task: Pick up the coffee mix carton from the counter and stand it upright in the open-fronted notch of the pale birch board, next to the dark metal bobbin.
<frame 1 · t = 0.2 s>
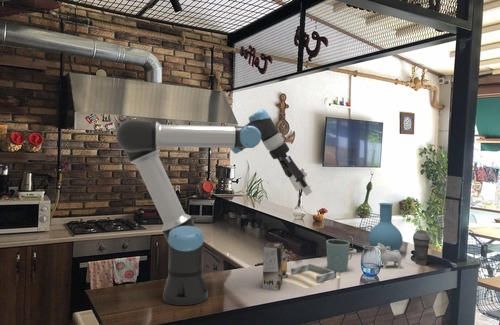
hand: (304, 191, 155), 35 cm above the counter, tool tilted 35°, fingers open, 13 cm apart
green mug: (337, 269, 169), on the counter
coffee box: (272, 288, 144), on the counter
notched board: (307, 279, 155), on the counter
vase: (385, 252, 200), on the counter
white animal figurine: (387, 267, 173), on the counter
beverage cup: (420, 264, 179), on the counter
bobbin: (281, 276, 154), resting on notched board
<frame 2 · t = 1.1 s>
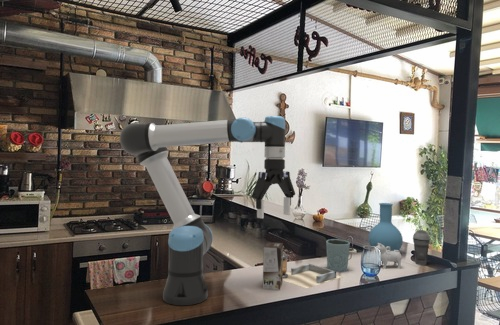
hand: (273, 216, 143), 27 cm above the counter, tool pointing down, fingers open, 13 cm apart
nothing on the counter moved.
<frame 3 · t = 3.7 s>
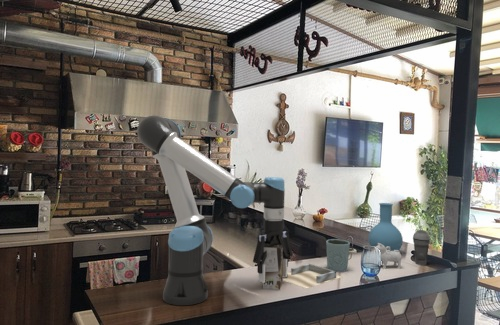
hand: (273, 278, 144), 3 cm above the counter, tool pointing down, fingers closed on coffee box, 11 cm apart
coffee box: (273, 288, 144), on the counter, touching gripper
everything else where it was.
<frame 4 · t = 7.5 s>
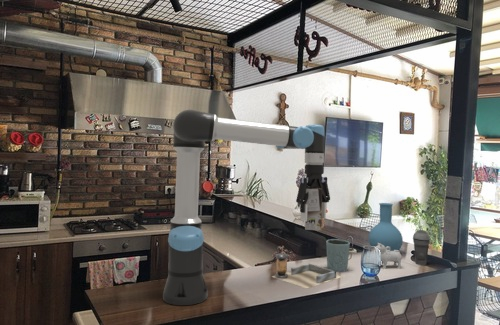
hand: (313, 219, 155), 24 cm above the counter, tool pointing down, fingers closed on coffee box, 11 cm apart
coffee box: (313, 228, 155), point 20 cm above the counter, touching gripper
everything else where it was.
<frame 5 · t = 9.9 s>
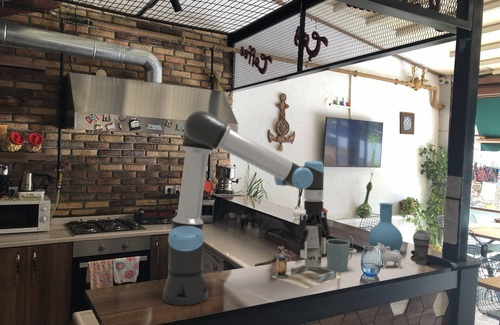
hand: (313, 255, 155), 9 cm above the counter, tool pointing down, fingers closed on coffee box, 11 cm apart
coffee box: (313, 264, 155), point 6 cm above the counter, touching gripper
everything else where it was.
when the fingers open (6 cm above the counter, at t = 11.4 s): coffee box stays where it is, resting on notched board.
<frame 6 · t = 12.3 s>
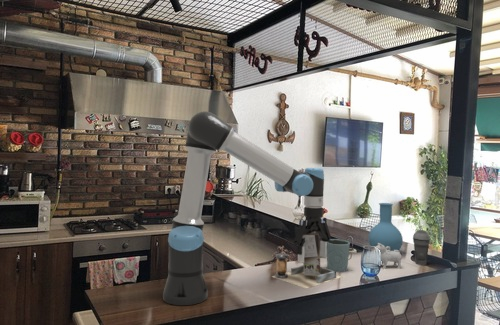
hand: (312, 260, 155), 8 cm above the counter, tool pointing down, fingers open, 13 cm apart
coffee box: (312, 271, 155), point 3 cm above the counter, touching gripper, notched board
everything else where it was.
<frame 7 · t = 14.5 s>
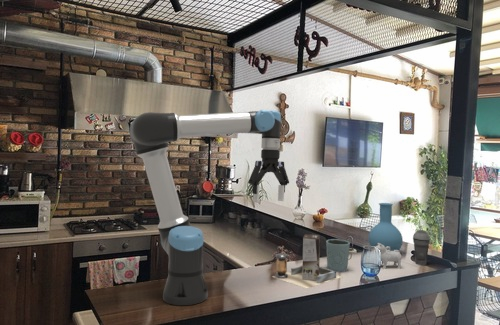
hand: (268, 201, 158), 30 cm above the counter, tool pointing down, fingers open, 13 cm apart
coffee box: (310, 277, 154), point 1 cm above the counter, touching notched board
everything else where it was.
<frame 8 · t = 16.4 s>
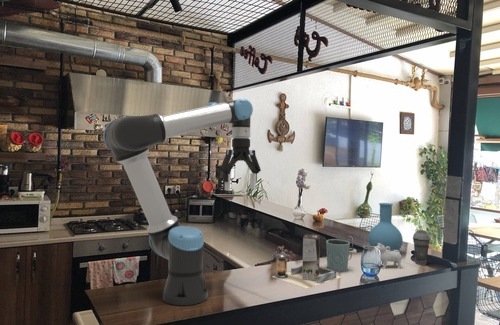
hand: (240, 189, 161), 35 cm above the counter, tool pointing down, fingers open, 13 cm apart
nothing on the counter moved.
at the end: coffee box 1.0 cm from the target spot on the notched board, point 0.8 cm above the notched board's base; coffee box tilted 0°; the gripper is holding nothing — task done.
